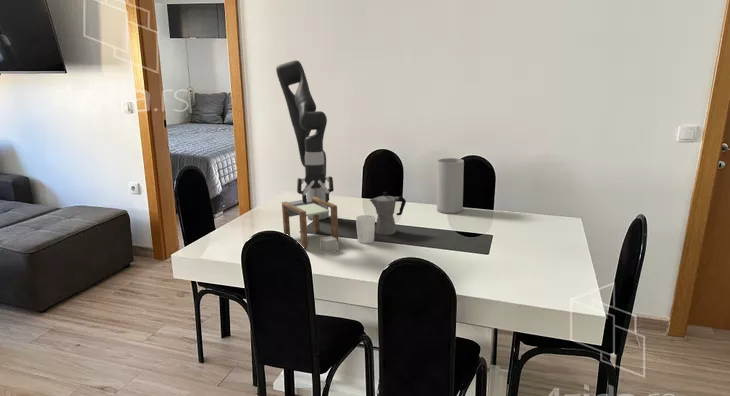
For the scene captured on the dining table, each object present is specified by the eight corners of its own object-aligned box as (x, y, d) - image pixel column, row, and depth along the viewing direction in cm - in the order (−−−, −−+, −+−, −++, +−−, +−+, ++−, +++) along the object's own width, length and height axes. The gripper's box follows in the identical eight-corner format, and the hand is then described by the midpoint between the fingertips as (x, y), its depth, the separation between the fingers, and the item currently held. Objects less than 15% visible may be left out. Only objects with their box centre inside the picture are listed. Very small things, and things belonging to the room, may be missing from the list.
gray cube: (331, 247, 207) (330, 235, 206) (337, 251, 203) (337, 238, 202) (320, 250, 204) (319, 238, 203) (326, 253, 200) (325, 241, 199)
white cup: (377, 238, 216) (377, 215, 214) (372, 244, 209) (371, 221, 206) (360, 236, 219) (359, 214, 216) (353, 242, 211) (353, 219, 209)
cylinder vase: (466, 209, 256) (467, 159, 250) (456, 215, 246) (457, 163, 240) (443, 205, 263) (443, 157, 256) (432, 211, 252) (433, 161, 246)
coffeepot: (371, 236, 219) (370, 195, 215) (370, 229, 228) (369, 189, 224) (407, 234, 220) (407, 193, 215) (404, 227, 229) (404, 188, 224)
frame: (317, 230, 229) (315, 196, 225) (338, 241, 213) (337, 205, 209) (284, 237, 221) (281, 202, 217) (303, 249, 205) (301, 212, 201)
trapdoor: (284, 214, 222) (283, 203, 221) (308, 209, 228) (307, 198, 227) (304, 225, 206) (304, 213, 205) (329, 220, 212) (329, 208, 210)
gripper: (330, 160, 208) (331, 199, 211) (294, 162, 204) (296, 202, 207) (334, 163, 201) (335, 203, 204) (298, 165, 197) (299, 206, 200)
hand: (315, 203), depth 206 cm, fingers open, 8 cm apart
